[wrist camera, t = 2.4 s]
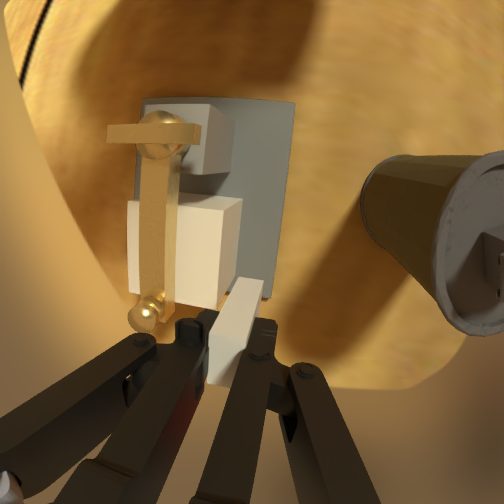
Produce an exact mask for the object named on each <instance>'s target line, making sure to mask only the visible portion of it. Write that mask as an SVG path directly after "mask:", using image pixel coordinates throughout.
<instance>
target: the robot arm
mask: <svg viewBox="0 0 504 504" xmlns="http://www.w3.org/2000/svg"><path fill="white" fill-rule="evenodd" d="M263 282H264V280H257V279H251V278H244V277H238V279H237V281H236V283H235V285H234V286H233V288H232V290H231V292H230V294H229V296H228V298H227V300H226V302H225V304H224V306H223V307H222V309H221V311H220V312H219V311H213V310H208V309H206V310H204V311H202V312H201V313H199V315H198V316H197V318H196V319H195V318H183V319H180V320H178V321H177V322H175V341H174V342H173V343H171V344H158V343H156V339H155V337H154V336H152V335H151V334H147V333H134V334H132V335H129V336H128V337H126V338H125V339H123V340H122V341H120V342H119V343H117V344H116V345H114V346H112V347H111V348H109V349H108V350H106V351H105V352H103V353H101V354H100V355H98V356H97V357H95V358H94V359H92V360H91V361H89V362H88V363H86V364H84V365H83V366H81V367H80V368H78V369H76V370H75V371H73V372H72V373H70V374H69V375H67V376H66V377H64V378H63V379H61V380H59V381H58V382H56V383H55V384H53V385H51V386H50V387H48V388H47V389H45V390H44V391H42V392H41V393H39V394H37V395H36V396H34V397H33V398H31V399H30V400H28V401H27V402H25V403H23V404H22V405H20V406H19V407H17V408H15V409H14V410H12V411H11V412H9V413H8V414H6V415H5V416H3V417H2V418H0V504H24V503H23V500H24V499H27V498H30V497H32V496H34V495H36V494H38V493H40V492H41V491H43V490H44V489H46V488H47V487H49V486H50V485H51V484H52V483H54V482H55V481H56V480H57V479H58V478H60V477H61V476H62V475H63V474H65V473H66V472H67V471H68V470H69V469H71V468H72V467H73V466H74V465H75V464H76V463H78V462H79V461H80V460H81V459H82V458H84V456H86V455H87V454H88V453H89V452H91V451H92V450H93V449H94V448H95V447H96V446H98V444H100V443H101V442H102V441H103V440H104V439H105V438H107V437H108V436H109V435H110V434H111V433H112V432H113V433H112V434H111V436H110V437H109V439H108V440H107V442H106V443H105V445H104V446H103V448H102V450H101V451H100V452H99V454H98V456H97V457H96V458H94V459H85V460H83V461H82V462H81V463H80V464H79V465H78V466H77V468H76V470H75V471H74V473H73V474H72V475H71V477H70V478H69V480H68V481H67V483H66V484H65V486H64V487H63V489H62V490H61V492H60V493H59V495H58V496H57V498H56V499H55V501H54V502H53V503H49V504H156V502H157V500H158V498H159V496H160V493H161V491H162V489H163V486H164V484H165V482H166V479H167V477H168V474H169V472H170V469H171V468H172V465H173V463H174V460H175V458H176V456H177V453H178V451H179V449H180V446H181V444H182V442H183V439H184V437H185V434H186V432H187V430H188V427H189V425H190V423H191V420H192V418H193V415H194V413H195V411H196V408H197V406H198V404H199V401H200V399H201V396H202V394H203V392H204V382H205V379H206V377H207V383H209V384H213V385H218V386H223V387H228V388H230V392H229V395H228V398H227V401H226V404H225V407H224V410H223V413H222V416H221V420H220V423H219V426H218V429H217V432H216V435H215V438H214V441H213V444H212V447H211V450H210V453H209V456H208V459H207V462H206V465H205V468H204V471H203V474H202V477H201V480H200V483H199V486H198V489H197V491H196V494H195V496H193V497H192V498H191V500H190V501H189V504H249V503H250V498H251V493H252V488H253V483H254V477H255V472H256V467H257V461H258V455H259V450H260V443H261V438H262V432H263V426H264V420H265V414H266V409H269V410H271V411H274V412H276V413H279V421H280V426H281V430H282V434H283V438H284V443H285V447H286V451H287V456H288V460H289V464H290V468H291V472H292V477H293V481H294V485H295V489H296V493H297V497H298V501H299V504H381V502H380V500H379V498H378V495H377V493H376V491H375V489H374V486H373V484H372V482H371V480H370V477H369V475H368V473H367V471H366V468H365V466H364V464H363V461H362V459H361V457H360V455H359V453H358V450H357V448H356V446H355V444H354V441H353V439H352V437H351V435H350V432H349V430H348V428H347V426H346V423H345V421H344V419H343V417H342V415H341V413H340V410H339V408H338V406H337V404H336V401H335V399H334V397H333V395H332V392H331V390H330V388H329V386H328V384H327V382H326V379H325V377H324V375H323V373H322V371H321V370H320V368H318V367H317V366H315V365H313V364H310V363H304V362H301V363H296V364H294V365H292V366H291V367H287V366H285V365H283V364H281V363H279V362H278V361H277V360H276V358H275V356H274V351H275V343H276V336H277V328H278V325H277V323H276V322H275V320H271V319H265V318H259V312H260V305H261V297H262V290H263ZM129 375H130V377H128V378H127V379H126V377H127V376H129Z"/></svg>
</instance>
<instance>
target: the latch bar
mask: <svg viewBox="0 0 504 504" xmlns="http://www.w3.org/2000/svg"><path fill="white" fill-rule="evenodd" d="M201 130H202V126H201V125H198V124H196V123H188V122H187V121H186V120H185V119H184V118H182V117H180V116H177V115H174V114H172V113H169V112H166V111H163V110H156V111H152V112H150V113H148V114H146V115H145V116H144V117H143V118H142V119H141V120H140V121H139V123H138V124H116V125H107V134H106V144H135V145H136V148H137V150H138V151H139V153H140V154H141V155H142V165H141V180H140V201H139V284H140V302H138V303H137V304H136V305H135V306H134V307H133V308H132V309H131V310H130V311H129V313H128V321H129V324H130V325H131V327H132V328H133V329H134V330H135V331H137V332H139V333H147V334H148V333H150V332H151V331H152V330H153V329H154V327H155V326H156V325H157V324H158V323H159V322H163V323H166V321H167V320H168V319H169V318H170V316H171V315H172V314H173V313H174V311H175V259H176V231H177V211H178V195H179V181H180V168H181V157H182V155H183V154H184V153H185V152H186V151H187V150H188V148H189V146H190V145H199V146H200V139H201Z"/></svg>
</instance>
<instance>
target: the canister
mask: <svg viewBox="0 0 504 504" xmlns="http://www.w3.org/2000/svg"><path fill="white" fill-rule="evenodd" d="M361 213H362V218H363V221H364V224H365V227H366V229H367V231H368V233H369V234H370V236H371V237H372V238H373V240H374V241H375V242H376V243H377V244H379V245H380V246H381V247H383V248H384V249H386V250H387V251H388V252H389V253H390V254H391V255H392V256H393V257H394V258H395V259H396V260H397V261H398V262H399V263H400V264H401V265H402V266H403V267H404V268H405V269H406V270H407V271H408V272H409V273H410V274H411V275H412V276H413V277H414V278H415V279H416V280H417V281H418V282H419V283H420V284H421V285H422V287H423V288H424V289H425V290H426V291H427V292H428V293H429V294H430V295H431V296H432V297H433V298H434V300H435V301H436V302H437V304H438V306H439V308H440V310H441V311H442V313H443V315H444V316H445V318H446V319H447V321H448V322H449V323H450V324H451V325H452V326H454V327H455V328H456V329H457V330H458V331H460V332H463V333H465V334H467V335H470V336H483V337H485V336H490V335H494V334H499V333H500V332H503V331H504V151H503V150H502V151H497V152H492V153H488V154H485V155H483V156H474V155H438V156H414V155H397V156H393V157H390V158H388V159H386V160H384V161H383V162H381V163H380V164H378V165H377V166H376V167H375V168H374V170H373V171H372V172H371V174H370V175H369V176H368V178H367V179H366V182H365V185H364V187H363V190H362V197H361Z"/></svg>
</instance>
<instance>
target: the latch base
mask: <svg viewBox="0 0 504 504" xmlns="http://www.w3.org/2000/svg"><path fill="white" fill-rule="evenodd" d="M156 110H163V111H166V112H169V113H172V114H174V115H177V116H180V117H182V118H184V119H185V120H186V121H187V122H188V123H196V124H198V125H201V126H202V130H201V139H200V146H199V145H190V146H189V148H188V150H187V151H186V152H185V153H184V154H183V155H182V157H181V168H180V181H179V192H183V193H194V194H204V195H213V196H222V197H231V198H240V199H243V201H242V211H241V221H240V231H239V241H238V251H237V261H236V272H235V277H234V278H233V280H232V282H231V284H230V286H229V287H228V289H227V292H231V290H232V288H233V286H234V285H235V283H236V281H237V279H238V277H244V278H251V279H257V280H264V282H263V290H262V297H264V298H271V294H272V287H273V280H274V273H275V266H276V259H277V252H278V245H279V237H280V230H281V222H282V215H283V207H284V199H285V191H286V183H287V175H288V166H289V158H290V149H291V141H292V132H293V123H294V113H295V103H291V102H282V101H272V100H260V99H246V98H227V97H164V98H144V99H143V102H142V110H141V118H140V120H141V119H142V118H143V117H144V116H145V115H146V114H148V113H150V112H152V111H156ZM141 165H142V155H141V154H140V153H139V151H138V150H137V159H136V173H135V192H134V199H136V198H140V180H141Z"/></svg>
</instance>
